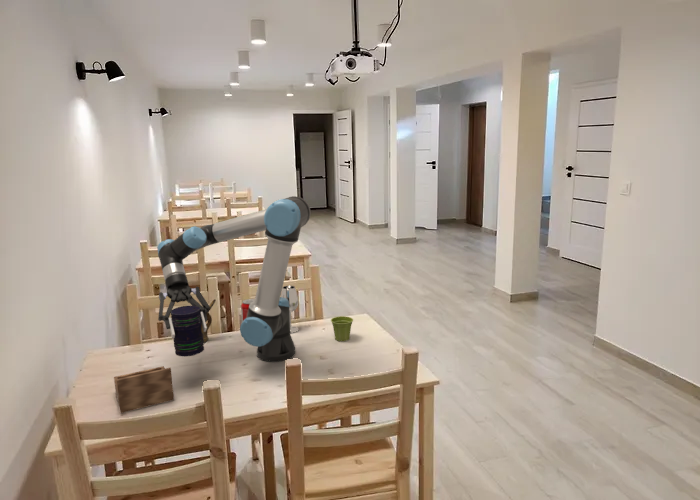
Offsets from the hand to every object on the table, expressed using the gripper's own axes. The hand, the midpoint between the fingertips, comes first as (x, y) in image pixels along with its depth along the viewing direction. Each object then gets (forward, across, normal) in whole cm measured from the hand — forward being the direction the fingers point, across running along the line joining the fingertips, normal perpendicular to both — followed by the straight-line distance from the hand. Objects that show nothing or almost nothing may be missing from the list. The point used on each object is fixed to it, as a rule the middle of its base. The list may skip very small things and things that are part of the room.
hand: (189, 333), depth 168 cm
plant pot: (+7, -64, -21) cm, 68 cm away
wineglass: (-8, -49, -36) cm, 61 cm away
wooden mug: (-15, -12, -42) cm, 46 cm away
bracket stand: (+13, +16, -14) cm, 25 cm away
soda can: (-12, -33, -40) cm, 53 cm away
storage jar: (+3, 0, -8) cm, 8 cm away
